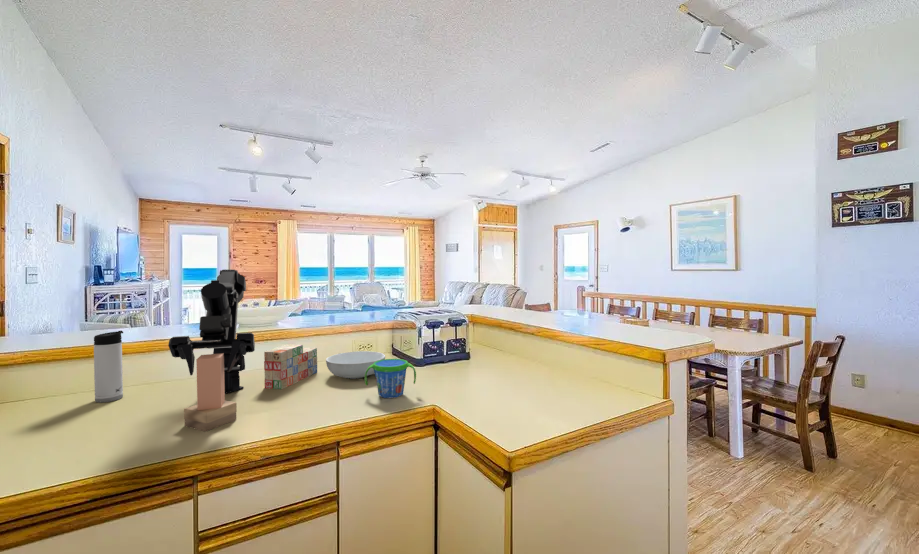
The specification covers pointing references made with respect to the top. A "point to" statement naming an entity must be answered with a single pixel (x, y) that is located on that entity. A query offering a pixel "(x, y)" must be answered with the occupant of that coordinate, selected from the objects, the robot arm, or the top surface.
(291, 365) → the stack of blocks
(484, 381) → the top surface
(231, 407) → the tower top
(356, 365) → the serving bowl
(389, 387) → the snack cup
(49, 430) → the top surface
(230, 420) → the tower base
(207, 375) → the pillar
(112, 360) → the travel mug
